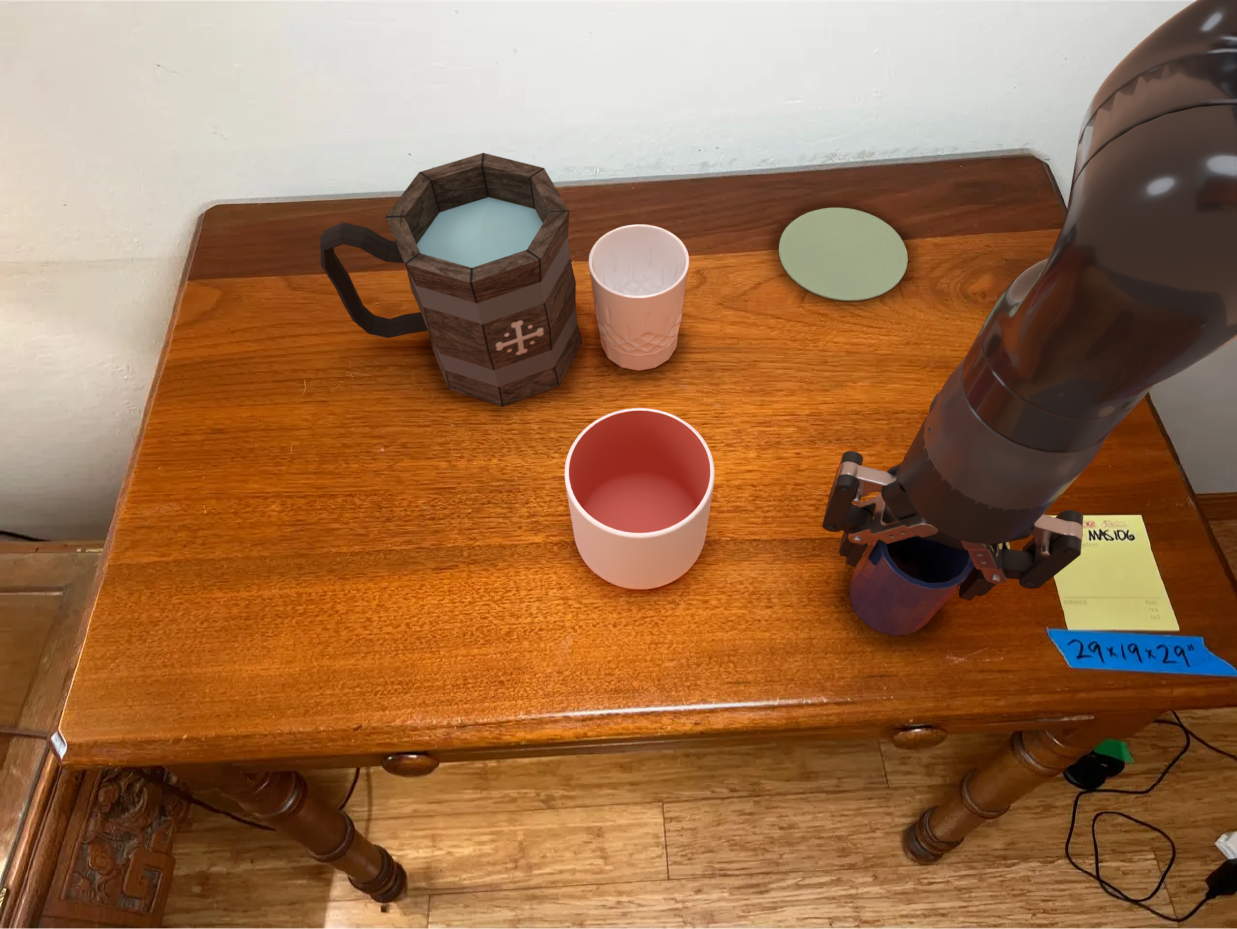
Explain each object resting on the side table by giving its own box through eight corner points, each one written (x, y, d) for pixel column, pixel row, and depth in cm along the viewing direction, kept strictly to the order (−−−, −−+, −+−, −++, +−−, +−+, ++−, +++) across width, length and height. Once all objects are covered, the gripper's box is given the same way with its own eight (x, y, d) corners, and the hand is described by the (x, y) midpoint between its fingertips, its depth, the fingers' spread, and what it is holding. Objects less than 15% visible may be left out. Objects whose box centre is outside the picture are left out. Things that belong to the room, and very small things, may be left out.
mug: (582, 285, 76) (570, 149, 63) (582, 404, 69) (568, 279, 56) (373, 291, 76) (318, 158, 63) (351, 411, 69) (285, 288, 56)
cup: (729, 517, 63) (742, 450, 54) (659, 620, 59) (662, 565, 50) (622, 457, 66) (619, 384, 58) (549, 551, 62) (533, 487, 53)
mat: (916, 223, 79) (916, 222, 79) (895, 314, 73) (896, 312, 73) (794, 198, 81) (794, 196, 81) (765, 284, 75) (765, 282, 75)
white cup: (597, 306, 74) (591, 223, 66) (683, 308, 74) (688, 224, 65) (592, 376, 70) (585, 296, 62) (683, 377, 70) (689, 298, 61)
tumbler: (937, 572, 60) (981, 517, 53) (926, 647, 58) (970, 600, 50) (857, 549, 62) (888, 492, 54) (841, 621, 59) (872, 572, 51)
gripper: (845, 463, 41) (792, 588, 55) (1151, 545, 38) (1012, 654, 52) (872, 350, 44) (815, 495, 58) (1153, 418, 42) (1022, 553, 56)
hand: (908, 570), depth 55 cm, fingers open, 7 cm apart
